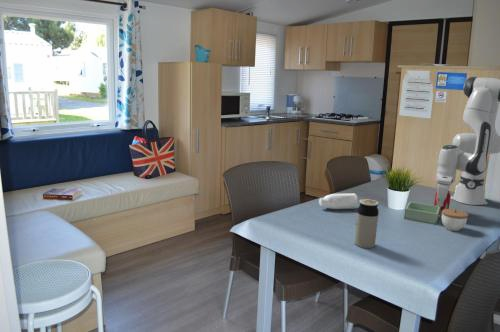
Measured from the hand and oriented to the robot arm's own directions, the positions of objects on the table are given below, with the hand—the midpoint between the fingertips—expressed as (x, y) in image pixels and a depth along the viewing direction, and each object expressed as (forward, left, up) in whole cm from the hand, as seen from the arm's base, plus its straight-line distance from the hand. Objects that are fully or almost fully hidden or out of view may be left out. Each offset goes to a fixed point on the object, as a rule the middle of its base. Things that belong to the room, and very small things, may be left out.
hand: (441, 203), depth 212 cm
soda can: (0, 0, -5) cm, 5 cm away
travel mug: (+65, -23, -5) cm, 69 cm away
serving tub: (+13, -8, -5) cm, 16 cm away
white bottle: (+25, -46, -5) cm, 52 cm away
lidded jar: (+22, +7, -5) cm, 24 cm away
